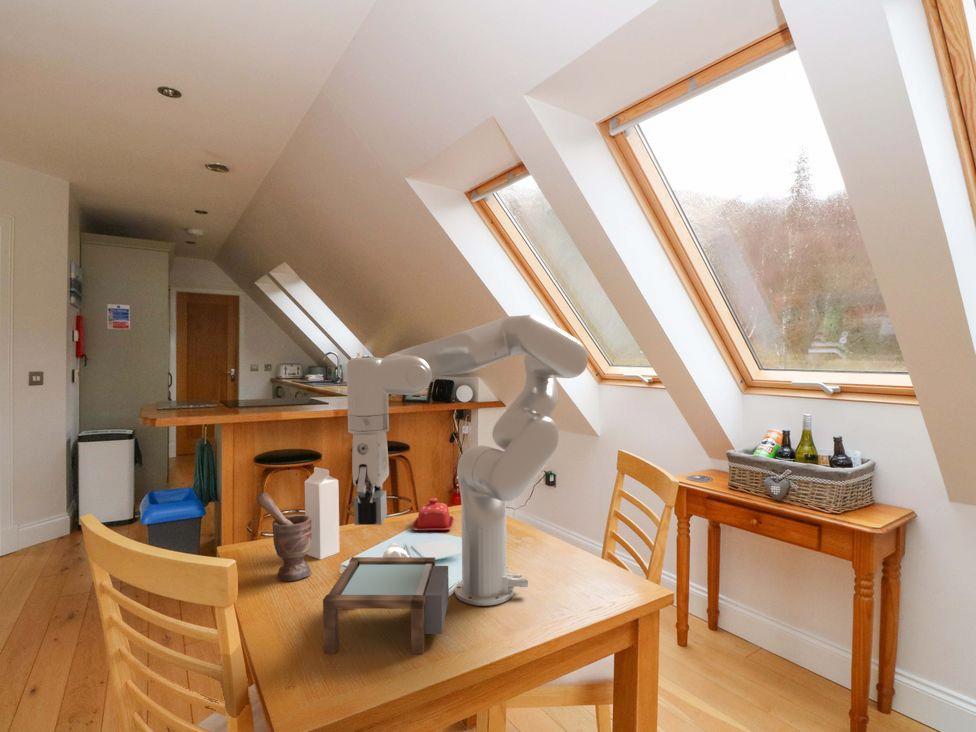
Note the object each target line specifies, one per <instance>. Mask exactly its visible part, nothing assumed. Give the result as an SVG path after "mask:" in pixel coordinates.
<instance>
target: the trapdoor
mask: <svg viewBox="0 0 976 732" xmlns="http://www.w3.org/2000/svg"><path fill="white" fill-rule="evenodd" d="M431 571H432V572H431ZM430 575H431V576H430ZM429 578H430V579H429ZM428 581H429V583H428ZM427 585H428V586H427ZM426 588H427V589H426ZM425 591H426V593H425ZM341 595H424V635H428V634H429V635H437V634H438V635H441V634H443V630H444V626H445V620H446V616H447V610H448V605H449V601H450V600H449V597H450V595H449V565H435V566H433V569H432V564H426V565H359V567H358V568H357V570H356V572H355V573H354V575H353V576H352V578H351V580H350V581H349V583H348V584H347V586H346V588H345V589H344V591H343V592H342V594H341Z"/></svg>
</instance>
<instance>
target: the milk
mask: <svg viewBox="0 0 976 732" xmlns="http://www.w3.org/2000/svg"><path fill="white" fill-rule="evenodd" d="M339 495H340V494H339V480H338V479H337V478H334V477H332V476H330V471H329V469H326V468H322V467H316V466H315V467H313V473H312V474H311V475H310V476H309V477H308V478H307V479H305V480H304V515H307V516H310V517H311V521H312V522H311V525H312V528H311V530H312V539H311V544H310V549H309V551H308V553H307V554H306V556H309V557H312V558H315V559H317V560H323V559H326V558H328V557H331V556H333V555H336V554H339V553H340V511H339V510H340V507H339V506H340V503H339V501H340V499H339V498H340V497H339Z"/></svg>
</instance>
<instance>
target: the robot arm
mask: <svg viewBox="0 0 976 732" xmlns="http://www.w3.org/2000/svg"><path fill="white" fill-rule="evenodd" d="M514 356H524V357H523V358H524V359H523V362H524V363H523V364H524V369H525V382H524V386H523V388H522V390H521V391H520V393H519V394H518V396H517V397H516V398H515V399H514V401H512V403H511V404H510V405H509V406H508V407H507V408H506V410H505V411H504V412H503V413H502V415H501V416H500V417H499V418H498V420H497V421H496V423H495V424H494V426H493V428H492V432H491V433H492V435H491V436H492V439H493V442H494V443H495V445H496V446H497V447H499V448H500V449H498V448H494V447H491V446H488V445H474V446H471V447H469V448H467V449H466V450H465V451H463V453H462V454H461V456H460V458H459V460H458V462H457V466H456V467H457V470H456V471H457V474H456V476H457V481H458V486H459V487H458V488H459V494H460V500H461V501H460V503H461V504H460V505H461V580H460V581H459V582H458V583H457V584H456V585H455V588H454V595H455V597H456V598H458V600H459V601H461V602H463V603H464V604H465V603H466V604H469V605H472V606H482V607H484V606H485V607H487V606H489V607H490V606H495V605H500V604H502V603H505V602H507V601H509V600H510V599H511V598H512V597H513V595H514V592H515V590H514V587H518V588H528V587H529V584H528V583H529V582H528V581H529V579H528V577H523V575H522V573H511V572H509V568H508V566H507V506H506V502H512V501H514V500H517V499H518V498H520V497H521V496H522V495H523V494H524V493H525V492H526V491H527V490H528V489H529V487H531V485H532V484H533V482H534V481H535V480H536V478H537V477H538V476H539V474H540V473H541V472H542V471H543V469H544V468H545V467H546V465H547V464H548V463H549V461H550V460H551V459H552V457H553V456H554V454H555V453H556V450H557V447H558V444H559V440H560V435H559V428H558V425H557V424H556V422H555V421H554V420H553V419H552V418H551V416H552V414H553V413H554V411H555V410H556V407H557V404H558V401H559V390H558V389H559V388H558V381H557V378H561V379H573V378H577V377H578V376H581V374H583V373H584V372H585V370H586V368H587V366H588V362H589V356H588V352H587V349H586V348H585V345H584V344H583V343H582V342H580V341H579V340H578V339H577V338H576V337H574V336H572V335H571V334H570V333H568V332H566V331H564V330H563V329H561V328H559V327H557V326H556V325H554V324H553V323H550V321H547V320H546V319H544V318H541V317H539V316H536V315H533V314H526V315H525V314H524V315H511V316H505V317H502V318H498V319H496V320H492V321H489V322H486V323H484V324H480V325H478V326H475V327H473V328H469V329H466V330H464V331H460V332H457V333H453V334H451V335H446V336H444V337H442V338H441V337H440V338H437V339H435V340H432V341H428V342H424V343H421V344H417V345H413V346H410V347H408V348H404V349H401V350H398V351H396V352H394V353H390V354H388V355H385V356H384V357H375V356H374V357H367V356H366V357H356V358H355V357H354V358H351V359H350V360H348V362H347V364H346V396H347V398H346V399H347V429H348V430H347V431H348V434H352V444H351V445H352V454H351V455H352V456H351V457H352V459H351V460H352V461H351V462H352V463H351V464H352V465H351V466H352V469H351V470H352V473H351V474H352V483H353V484H352V485H353V486H354V487H355V488H356V493H357V494H358V523H359V524H375V523H376V502H374V491H383V484H384V482H385V481H386V480H387V479H388V478H389V475H390V466H389V465H390V463H389V451H388V439H387V438H388V437H387V432H389V431H390V416H389V415H390V413H389V411H390V406H389V405H390V404H389V395H390V394H391V395H405V396H407V395H408V396H412V395H417V394H421V393H422V392H423V391H425V390H426V389H428V387H429V386H430V384H431V382H432V379H433V378H434V377H439V376H444V375H445V376H446V375H460V374H461V375H462V374H467V373H471V372H475V371H478V370H480V369H483V368H485V367H487V366H490V365H493V364H495V363H497V362H500V361H501V362H502V361H503V360H506V359H508V358H511V357H514ZM501 449H502V450H501ZM369 491H370V493H369Z"/></svg>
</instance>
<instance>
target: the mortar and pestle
mask: <svg viewBox="0 0 976 732" xmlns="http://www.w3.org/2000/svg"><path fill="white" fill-rule="evenodd" d="M256 501H257V503H258V504H259V505H260V507H262V508H263V509H264V511H266V512H267V513H268V514H269V515H270V517H272V518H273V519H274V520H272V523H271V525H272V526H271V527H272V534H273V535H272V539H273V545H274V549H275V552H276V555H277V556H278V557H279V558H280V559H281V560H282V561H283V564H282V565H281V566H280V567H279V568H278V571H277V580H280V581H283V582H294V581H295V582H296V581H298V580H299V581H300V580H302V579H305V578H307V577H310V576H311V571H312V570H311V568H310V565H309V564H308V563H306V561H305V560H304V558H305V557H306V556H307V553H308V551H309V549H310V544H311V539H312V530H311V528H312V525H311V522H312V521H311V517H310V516H307V515H305V514H292V515H291V514H290V515H284V514H283V513H282V512H281V510H280V509H279V507H278V505H277V504H276V502H275V500H274V499H273V498H272V496H271V495H270V493H268V492H266V491H262V492H260V493H259V494H258V495H257V496H256Z"/></svg>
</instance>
